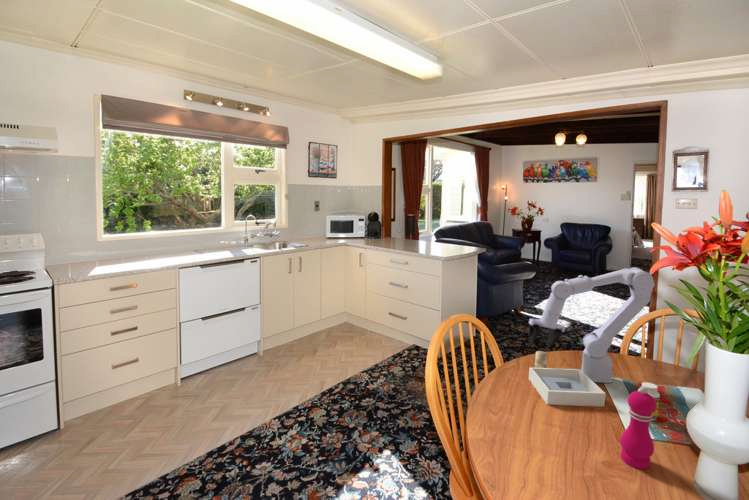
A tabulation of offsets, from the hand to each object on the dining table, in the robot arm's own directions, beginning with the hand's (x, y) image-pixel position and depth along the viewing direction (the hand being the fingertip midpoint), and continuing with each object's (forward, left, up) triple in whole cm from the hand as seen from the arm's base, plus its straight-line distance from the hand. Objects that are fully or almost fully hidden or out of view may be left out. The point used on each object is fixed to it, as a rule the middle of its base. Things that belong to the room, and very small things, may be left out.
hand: (539, 344), depth 154 cm
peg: (-1, -1, -11) cm, 11 cm away
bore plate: (-3, +17, -10) cm, 21 cm away
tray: (-3, +16, -10) cm, 20 cm away
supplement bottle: (-22, +30, -11) cm, 39 cm away
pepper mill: (-6, +52, -11) cm, 54 cm away
